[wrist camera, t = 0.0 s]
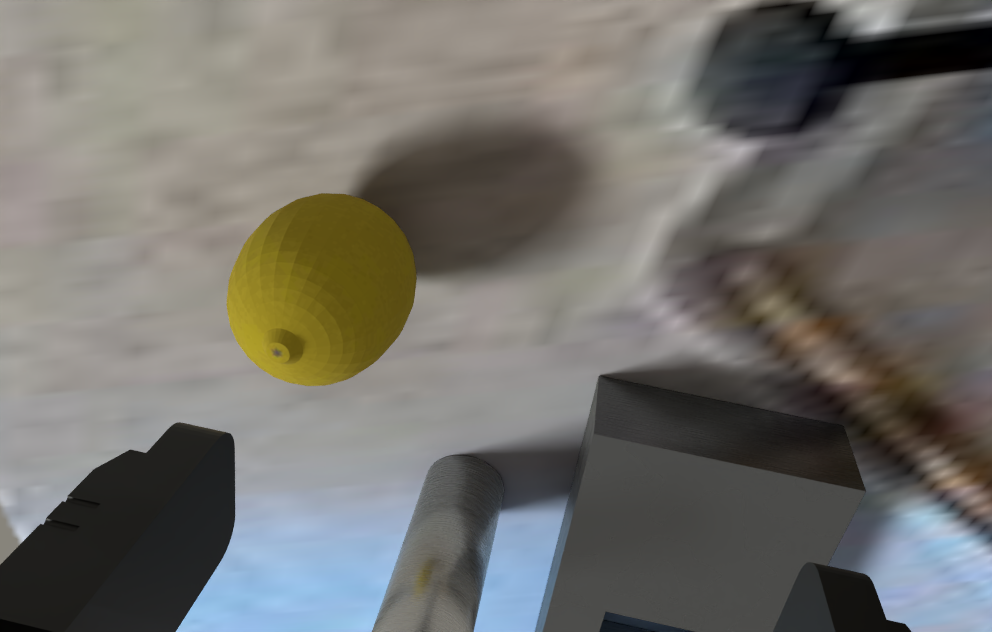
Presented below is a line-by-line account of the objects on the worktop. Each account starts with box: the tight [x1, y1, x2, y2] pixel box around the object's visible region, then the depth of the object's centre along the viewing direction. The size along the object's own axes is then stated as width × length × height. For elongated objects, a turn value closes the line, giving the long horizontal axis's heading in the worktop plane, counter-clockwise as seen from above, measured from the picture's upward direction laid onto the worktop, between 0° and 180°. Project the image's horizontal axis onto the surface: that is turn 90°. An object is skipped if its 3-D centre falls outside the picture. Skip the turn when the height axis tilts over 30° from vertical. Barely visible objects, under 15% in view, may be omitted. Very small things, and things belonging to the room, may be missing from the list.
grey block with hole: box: [535, 376, 866, 632], centre depth 32 cm, size 16×9×4 cm, turn 172°
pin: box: [372, 455, 504, 632], centre depth 29 cm, size 3×3×12 cm
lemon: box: [227, 194, 417, 386], centre depth 25 cm, size 6×6×8 cm
